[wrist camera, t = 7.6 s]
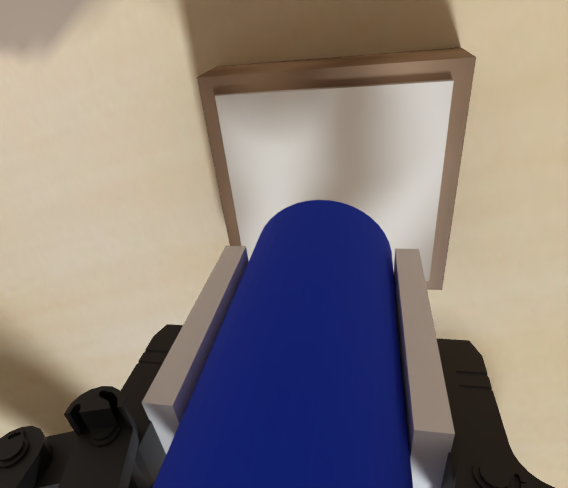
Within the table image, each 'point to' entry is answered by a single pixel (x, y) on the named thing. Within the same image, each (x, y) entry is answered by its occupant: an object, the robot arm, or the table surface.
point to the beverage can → (302, 366)
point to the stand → (344, 142)
